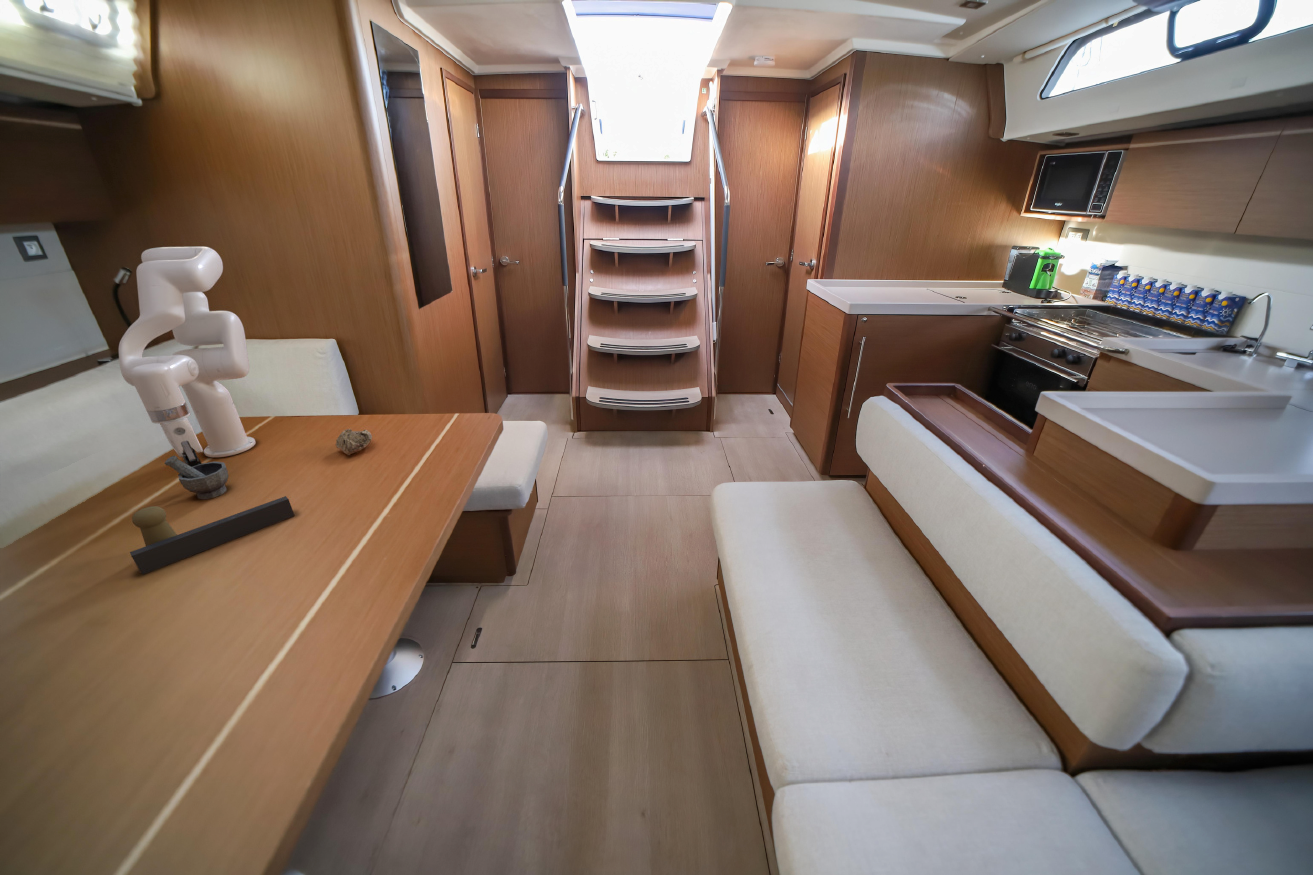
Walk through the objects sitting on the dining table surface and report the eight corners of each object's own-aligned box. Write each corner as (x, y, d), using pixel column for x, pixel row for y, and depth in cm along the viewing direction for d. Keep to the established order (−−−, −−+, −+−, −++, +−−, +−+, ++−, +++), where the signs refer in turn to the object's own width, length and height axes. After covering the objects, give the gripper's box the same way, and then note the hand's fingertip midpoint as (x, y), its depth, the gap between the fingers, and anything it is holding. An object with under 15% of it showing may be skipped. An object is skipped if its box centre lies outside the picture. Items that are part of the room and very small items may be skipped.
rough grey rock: (345, 466, 152) (374, 450, 152) (327, 450, 148) (358, 434, 148) (351, 447, 161) (379, 432, 161) (334, 431, 157) (363, 416, 157)
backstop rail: (140, 570, 105) (129, 552, 103) (292, 512, 125) (285, 495, 123) (142, 575, 104) (131, 556, 102) (294, 515, 124) (288, 498, 121)
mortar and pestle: (239, 480, 138) (223, 442, 133) (230, 497, 131) (213, 457, 126) (187, 489, 134) (169, 450, 129) (175, 507, 126) (155, 466, 121)
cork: (191, 546, 113) (171, 505, 108) (160, 562, 108) (137, 520, 103) (174, 540, 115) (153, 500, 110) (142, 556, 109) (119, 515, 105)
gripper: (194, 415, 125) (222, 478, 133) (181, 400, 134) (208, 460, 142) (155, 425, 120) (186, 489, 128) (144, 409, 129) (173, 470, 137)
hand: (197, 474), depth 135 cm, fingers closed
